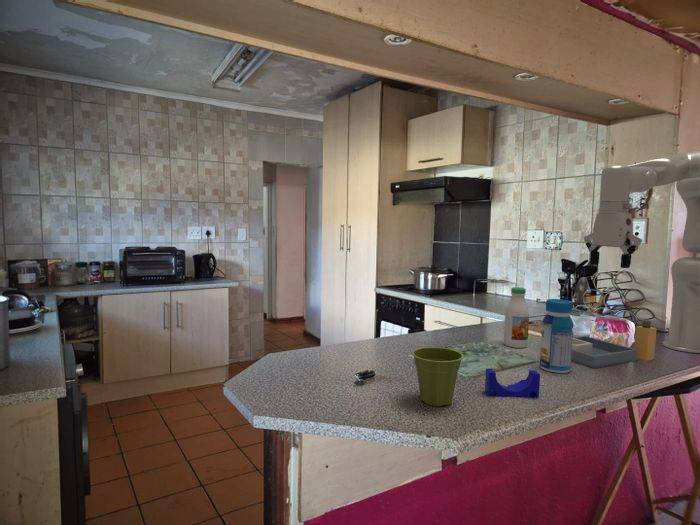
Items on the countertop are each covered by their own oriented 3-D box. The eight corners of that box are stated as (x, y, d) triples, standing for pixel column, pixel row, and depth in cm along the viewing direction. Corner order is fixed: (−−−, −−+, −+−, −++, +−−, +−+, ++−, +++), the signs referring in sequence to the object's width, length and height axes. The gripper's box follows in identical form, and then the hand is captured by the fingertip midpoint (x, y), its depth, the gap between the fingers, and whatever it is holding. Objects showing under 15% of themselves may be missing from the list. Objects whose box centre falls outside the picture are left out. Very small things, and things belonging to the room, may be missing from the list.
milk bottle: (501, 346, 150) (504, 288, 148) (505, 341, 156) (508, 285, 155) (526, 349, 146) (529, 290, 144) (528, 344, 153) (531, 287, 151)
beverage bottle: (563, 376, 121) (568, 304, 119) (533, 368, 127) (537, 300, 126) (575, 369, 127) (580, 301, 125) (546, 362, 133) (550, 297, 131)
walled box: (584, 345, 153) (585, 331, 152) (636, 360, 136) (638, 345, 136) (542, 351, 144) (543, 336, 144) (593, 368, 128) (594, 351, 128)
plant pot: (454, 391, 108) (456, 346, 107) (468, 411, 97) (470, 361, 96) (406, 390, 108) (408, 345, 107) (414, 411, 96) (416, 361, 95)
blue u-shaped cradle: (531, 391, 110) (533, 368, 109) (538, 398, 105) (540, 374, 105) (483, 389, 110) (484, 366, 110) (488, 396, 106) (489, 372, 105)
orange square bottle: (641, 355, 142) (644, 319, 141) (654, 359, 138) (657, 322, 137) (633, 357, 140) (636, 320, 139) (646, 360, 137) (649, 323, 136)
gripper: (651, 208, 123) (646, 268, 125) (595, 209, 139) (591, 263, 140) (634, 207, 120) (629, 269, 122) (578, 208, 136) (574, 263, 137)
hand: (609, 266), depth 131 cm, fingers open, 9 cm apart
